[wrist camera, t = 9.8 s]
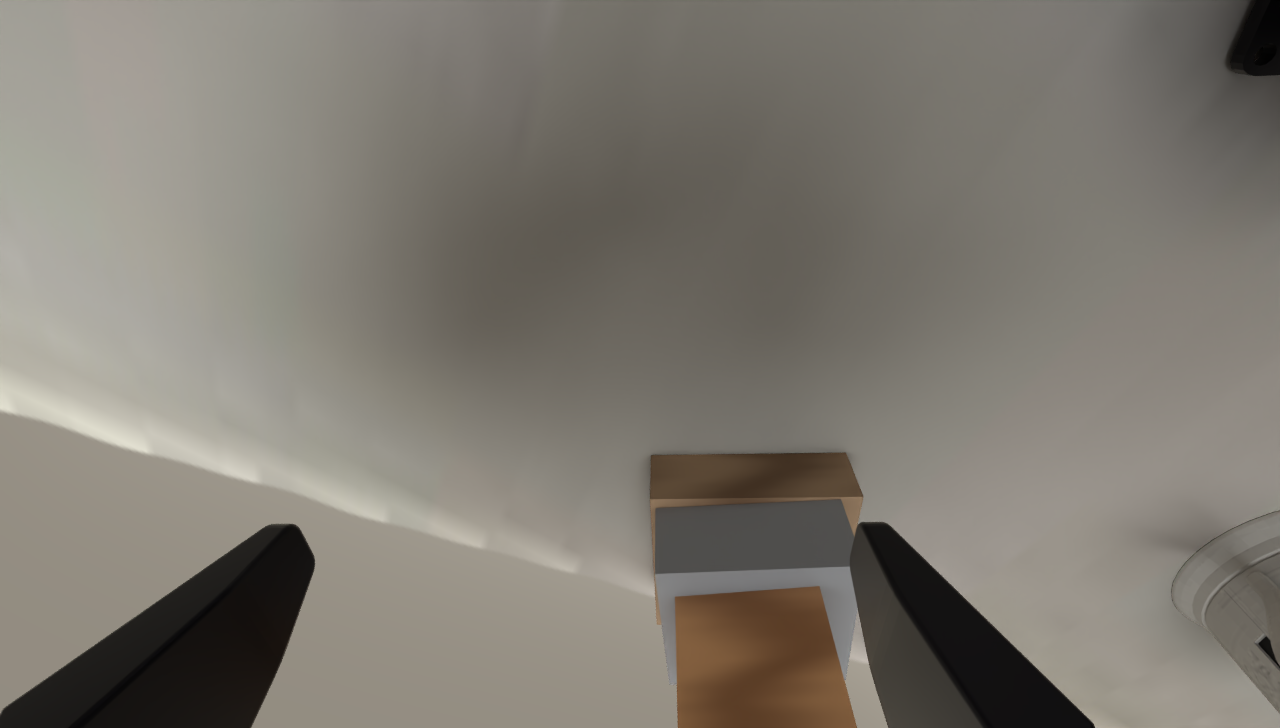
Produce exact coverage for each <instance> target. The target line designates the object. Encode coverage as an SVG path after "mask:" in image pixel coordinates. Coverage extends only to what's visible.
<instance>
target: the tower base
mask: <svg viewBox="0 0 1280 728" xmlns="http://www.w3.org/2000/svg"><path fill="white" fill-rule="evenodd" d="M837 499H841V500H842V503H843V506H844V509H845V512H846V515H847V517H848V520H849V523H850V526H851V529H852V532H853V535H854V537H855V532H856V528H857V524H858V519H859V515H860V510H861V506H862V501H863V494H862V492H861V489H860V487H859V484H858V482H857V479H856V477H855V474H854V472H853V469H852V467H851V464H850V462H849V459H848V457H847V454H846V453H784V454H709V455H651V479H650V508H651V526H652V545H653V563H654V581H655V600H656V618H657V624H658V625H662V624H661V617H660V609H659V602H658V594H657V587H656V580H655V510H656V508H669V507H690V506H711V505H732V504H753V503H774V502H795V501H816V500H837Z"/></svg>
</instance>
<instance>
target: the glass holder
mask: <svg viewBox="0 0 1280 728" xmlns="http://www.w3.org/2000/svg"><path fill="white" fill-rule="evenodd" d="M1171 593H1172V601H1173V603H1174V605H1175V606H1176V608H1177V609H1178V610H1179V611H1180V612H1181V613H1182V614H1183V615H1184V616H1185V617H1186V618H1188V619H1190V620H1191V621H1193V622H1195V623H1197V624H1198V625H1200V626H1202V627H1204V628H1205V629H1206V630H1207V631H1208V632H1209V633H1211V634H1212V635H1213V636H1214V637H1215V638H1216V640H1217V641H1218V642H1219V643H1220V644H1221V645H1222V647H1223V648H1224V649H1225V650H1226V651H1227V652H1228V654H1229V655H1230V656H1231V657H1232V658H1233V660H1234V661H1235V662H1236V663H1237V664H1238V665H1239V667H1240V668H1241V669H1242V670H1243V671H1244V672H1245V674H1246V675H1247V676H1248V677H1249V678H1250V679H1251V681H1252V682H1253V683H1254V684H1255V685H1256V687H1257V688H1258V689H1259V690H1260V691H1261V692H1262V694H1263V695H1264V696H1265V697H1266V698H1267V699H1268V701H1269V702H1270V703H1271V704H1272V705H1273V707H1274V708H1275V709H1276V710H1277V711H1278V712H1279V714H1280V511H1278V512H1274V513H1270V514H1268V515H1265V516H1262V517H1259V518H1256V519H1254V520H1251V521H1249V522H1246V523H1244V524H1242V525H1240V526H1238V527H1236V528H1233V529H1231V530H1229V531H1228V532H1226V533H1224V534H1223V535H1221V536H1219V537H1217V538H1216V539H1214V540H1212V541H1211V542H1210V543H1208V544H1207V545H1205V546H1204V547H1203V548H1201V549H1200V550H1199V551H1198V552H1196V553H1195V554H1194V555H1193V556H1192V557H1191V558H1190V559H1189V560H1188V561H1187V562H1186V563H1185V565H1184V566H1183V567H1182V568H1181V570H1180V571H1179V572H1178V574H1177V576H1176V578H1175V580H1174V582H1173V586H1172V591H1171Z"/></svg>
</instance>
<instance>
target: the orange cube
mask: <svg viewBox="0 0 1280 728" xmlns="http://www.w3.org/2000/svg"><path fill="white" fill-rule="evenodd" d="M675 622H676V668H677V711H678V712H677V713H678V728H857V726H856V723H855V718H854V715H853V711H852V707H851V704H850V700H849V696H848V692H847V688H846V684H845V681H844V677H843V673H842V669H841V665H840V662H839V658H838V654H837V650H836V647H835V643H834V639H833V635H832V631H831V628H830V624H829V620H828V616H827V612H826V609H825V605H824V601H823V597H822V594H821V590H820V586H814V587H800V588H787V589H773V590H760V591H746V592H733V593H719V594H706V595H692V596H678V597H675Z"/></svg>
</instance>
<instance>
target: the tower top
mask: <svg viewBox="0 0 1280 728" xmlns="http://www.w3.org/2000/svg"><path fill="white" fill-rule="evenodd" d="M853 541H854V535H853V532H852V529H851V526H850V523H849V520H848V517H847V515H846V512H845V509H844V506H843V503H842V500H841V499H837V500H816V501H795V502H774V503H753V504H732V505H711V506H690V507H669V508H656V510H655V580H656V587H657V594H658V602H659V609H660V617H661V624H662V631H663V639H664V646H665V653H666V661H667V669H668V676H669V683H670V684H677V668H676V622H675V597H678V596H692V595H706V594H719V593H733V592H746V591H760V590H773V589H787V588H800V587H814V586H820V590H821V594H822V597H823V601H824V605H825V609H826V612H827V616H828V620H829V624H830V628H831V631H832V635H833V639H834V643H835V647H836V650H837V654H838V658H839V662H840V665H841V669H842V673H843V677H844V680H846V674H847V668H848V662H849V656H850V650H851V644H852V638H853V632H854V626H855V620H856V614H857V608H858V607H857V602H856V597H855V592H854V587H853V582H852V577H851V572H850V554H851V550H852V545H853Z"/></svg>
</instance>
